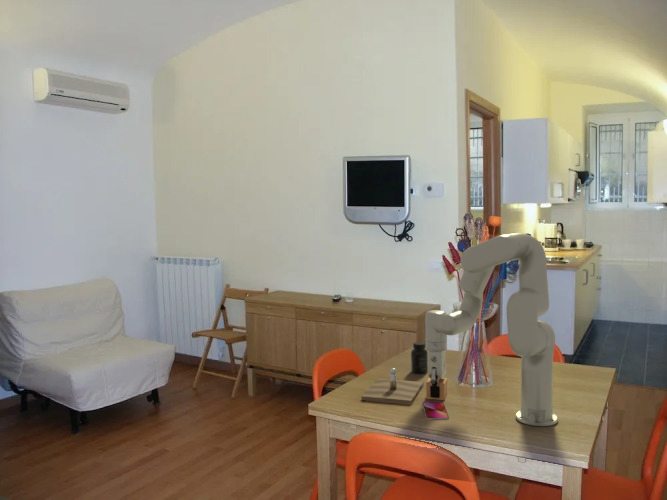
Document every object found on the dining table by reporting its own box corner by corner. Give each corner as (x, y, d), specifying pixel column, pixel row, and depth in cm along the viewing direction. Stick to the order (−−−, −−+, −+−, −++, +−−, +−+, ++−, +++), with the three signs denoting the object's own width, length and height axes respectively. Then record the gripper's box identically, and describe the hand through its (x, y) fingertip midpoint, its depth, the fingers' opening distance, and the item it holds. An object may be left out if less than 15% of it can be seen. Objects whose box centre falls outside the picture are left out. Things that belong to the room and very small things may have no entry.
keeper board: (411, 404, 205) (411, 400, 205) (361, 400, 211) (361, 396, 211) (423, 385, 225) (423, 381, 225) (377, 382, 231) (377, 378, 231)
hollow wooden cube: (444, 400, 209) (444, 383, 208) (426, 398, 211) (426, 382, 210) (447, 394, 215) (447, 378, 214) (429, 393, 217) (429, 377, 216)
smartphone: (426, 418, 191) (422, 401, 206) (426, 421, 191) (422, 404, 206) (449, 418, 190) (443, 401, 205) (449, 421, 190) (443, 404, 205)
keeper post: (396, 390, 216) (395, 369, 216) (389, 389, 217) (388, 368, 217) (397, 388, 219) (397, 367, 218) (390, 387, 220) (390, 366, 219)
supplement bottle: (408, 370, 246) (407, 342, 245) (422, 368, 248) (421, 340, 248) (417, 375, 239) (416, 346, 238) (431, 372, 242) (430, 343, 241)
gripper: (443, 351, 202) (443, 402, 203) (450, 340, 218) (450, 387, 220) (421, 350, 204) (421, 400, 206) (430, 339, 221) (430, 385, 222)
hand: (436, 393), depth 213 cm, fingers open, 6 cm apart
